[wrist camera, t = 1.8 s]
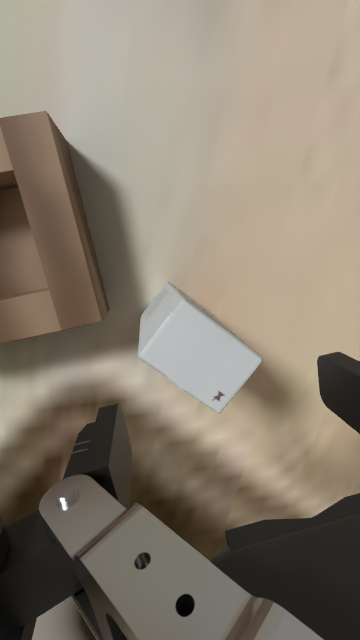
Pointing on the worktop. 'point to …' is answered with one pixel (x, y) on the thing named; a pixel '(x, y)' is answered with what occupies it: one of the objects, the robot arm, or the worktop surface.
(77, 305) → the holder
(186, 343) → the skincare box
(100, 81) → the worktop surface
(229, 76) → the worktop surface
